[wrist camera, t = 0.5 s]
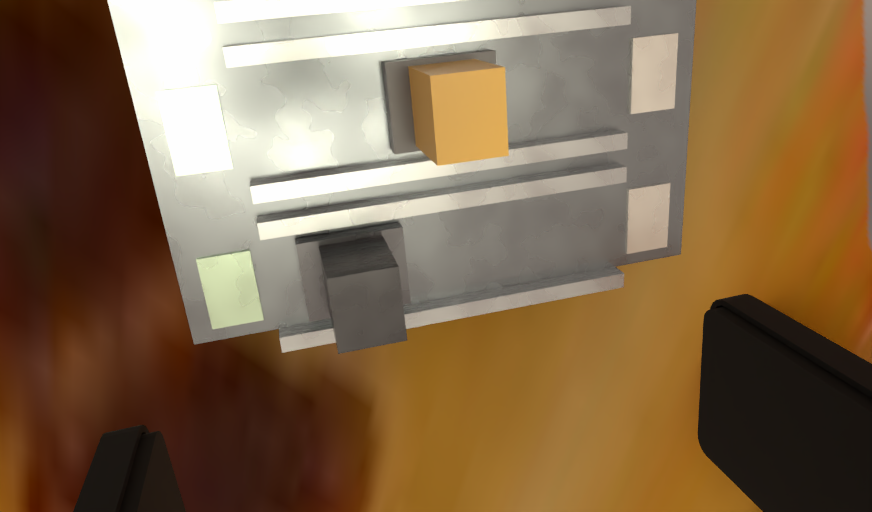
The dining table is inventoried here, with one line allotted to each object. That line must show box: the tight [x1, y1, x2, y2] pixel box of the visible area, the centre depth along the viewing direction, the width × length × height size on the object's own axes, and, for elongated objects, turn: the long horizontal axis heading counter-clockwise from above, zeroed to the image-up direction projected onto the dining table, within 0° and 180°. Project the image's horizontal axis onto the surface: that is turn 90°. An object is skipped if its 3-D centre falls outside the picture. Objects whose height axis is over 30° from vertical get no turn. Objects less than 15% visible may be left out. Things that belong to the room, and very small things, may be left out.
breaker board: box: [107, 0, 696, 354], centre depth 29 cm, size 22×26×7 cm
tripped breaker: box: [382, 49, 509, 166], centre depth 28 cm, size 4×5×5 cm
